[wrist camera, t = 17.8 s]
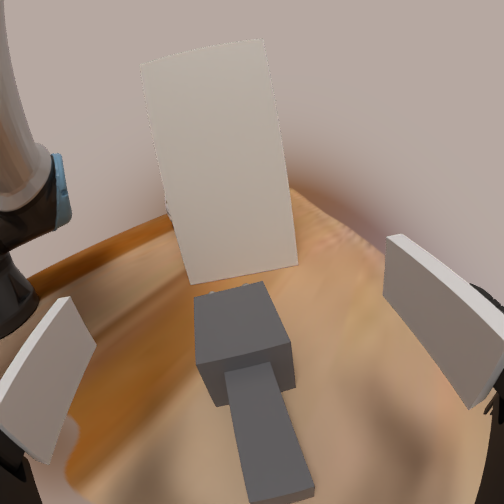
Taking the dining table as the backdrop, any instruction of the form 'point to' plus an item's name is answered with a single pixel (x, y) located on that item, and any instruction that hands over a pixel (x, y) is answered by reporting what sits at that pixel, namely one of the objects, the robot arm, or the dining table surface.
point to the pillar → (221, 159)
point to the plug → (253, 388)
